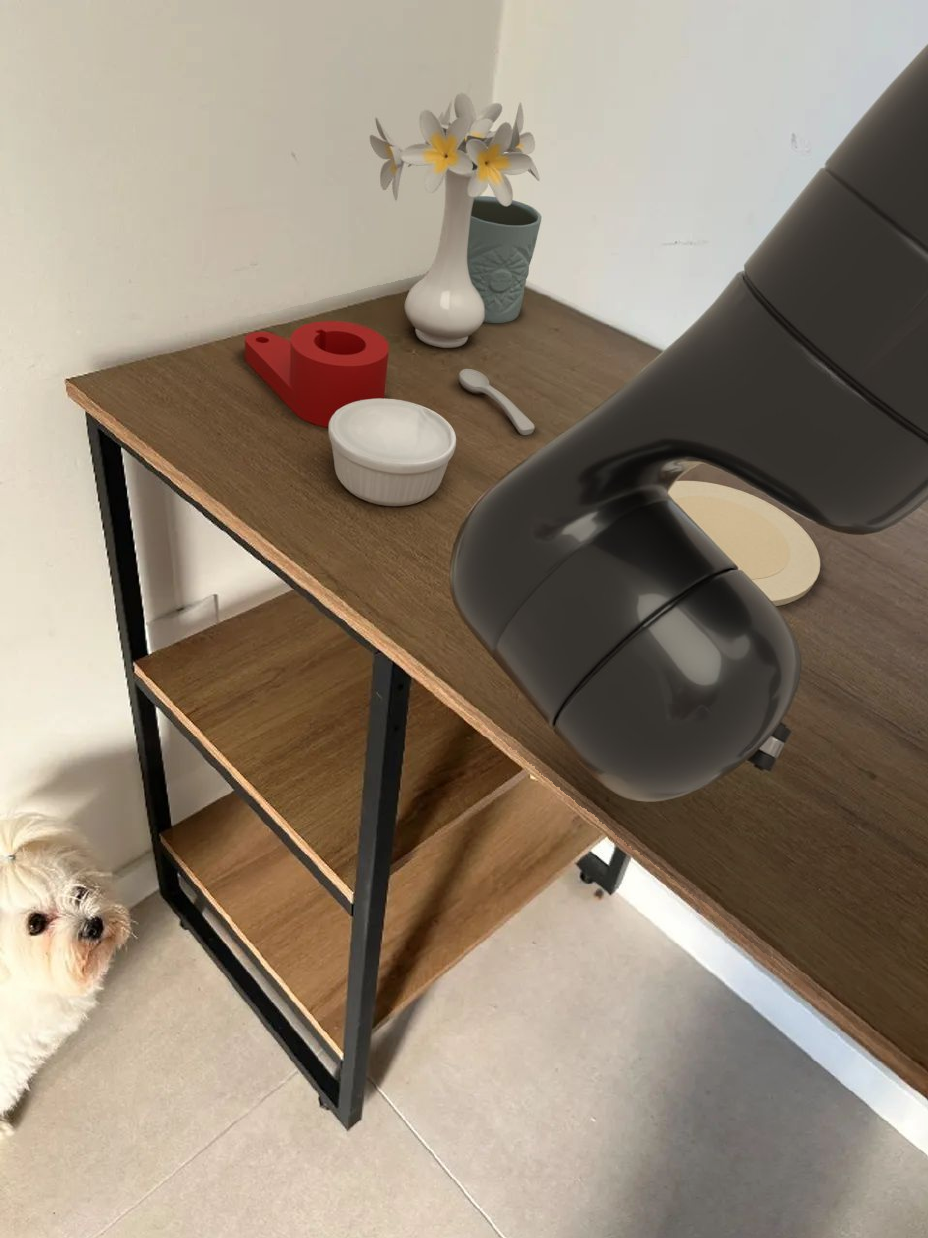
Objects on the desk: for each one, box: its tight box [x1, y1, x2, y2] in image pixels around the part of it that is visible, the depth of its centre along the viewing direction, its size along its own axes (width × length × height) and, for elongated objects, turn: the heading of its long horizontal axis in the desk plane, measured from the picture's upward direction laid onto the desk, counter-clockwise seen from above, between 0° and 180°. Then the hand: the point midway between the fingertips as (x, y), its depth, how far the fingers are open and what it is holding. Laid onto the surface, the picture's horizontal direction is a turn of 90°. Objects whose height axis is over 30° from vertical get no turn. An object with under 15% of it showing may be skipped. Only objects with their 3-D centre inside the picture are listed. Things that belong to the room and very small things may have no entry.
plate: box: [668, 480, 821, 607], centre depth 85 cm, size 18×18×1 cm
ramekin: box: [328, 398, 457, 507], centre depth 84 cm, size 11×11×5 cm
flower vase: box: [369, 92, 541, 349], centre depth 100 cm, size 13×18×25 cm
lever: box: [244, 320, 390, 429], centre depth 94 cm, size 18×9×7 cm, turn 49°
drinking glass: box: [467, 195, 542, 324], centre depth 113 cm, size 10×10×12 cm
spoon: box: [458, 368, 535, 436], centre depth 98 cm, size 3×12×2 cm, turn 35°
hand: (682, 708), depth 59 cm, fingers closed
